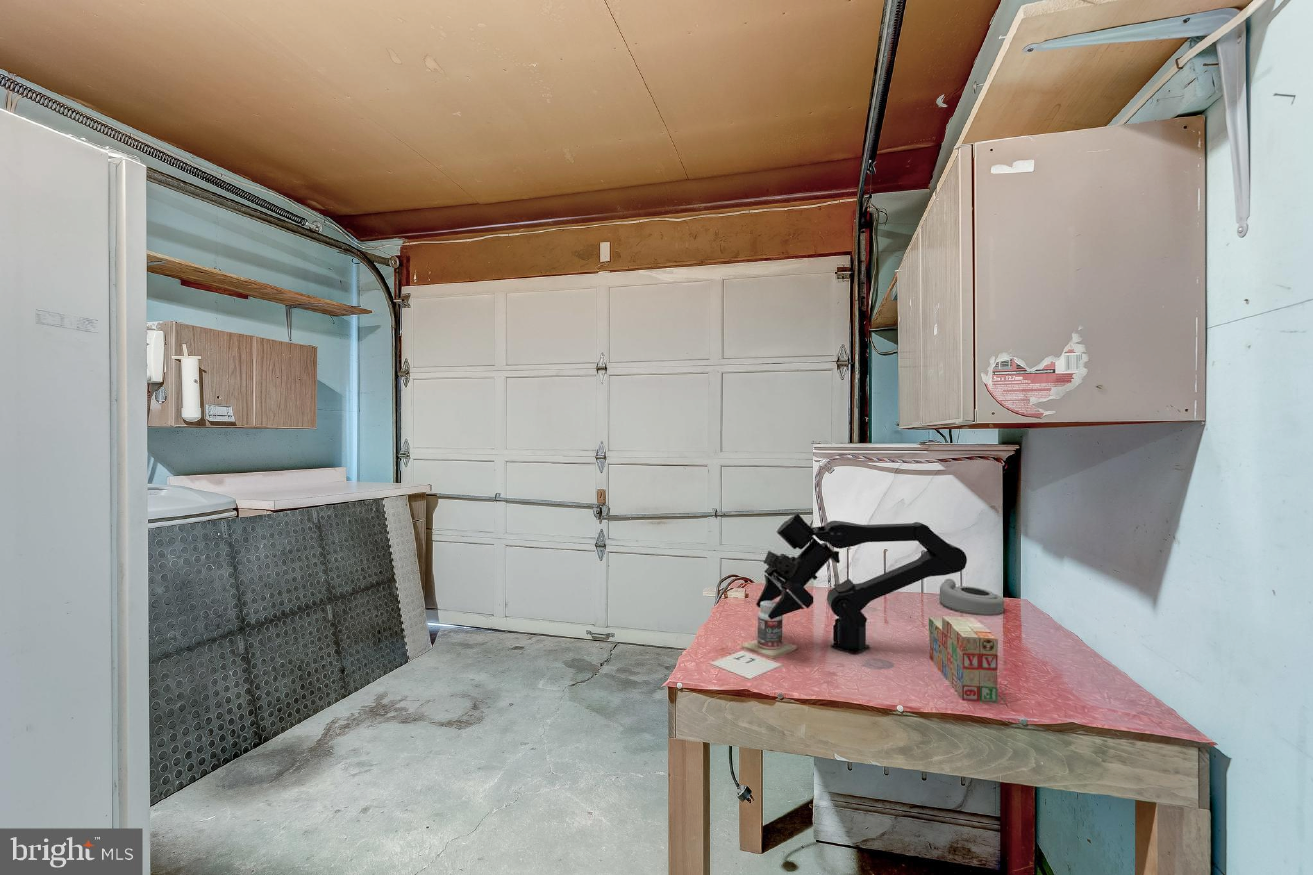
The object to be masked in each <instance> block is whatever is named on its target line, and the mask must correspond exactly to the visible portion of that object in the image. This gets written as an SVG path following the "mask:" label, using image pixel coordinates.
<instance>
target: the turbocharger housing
mask: <svg viewBox="0 0 1313 875" xmlns="http://www.w3.org/2000/svg"><path fill="white" fill-rule="evenodd" d="M938 596H939V599H938V601H939V603H940V604H941V605H942V606H944V607H945V606H946V608H947V609H949V608H950V610H952V611H955V610H956V612H958V611H960V612H959V613H962V612H964V613H963V614H967V613H970V614H969V615H974V614H976V615H975V616H996V615H997V614H998V615H1000V614H1002V613H1003V612H1004V609H1005V599H1004V597H1002V596H1001V595H999V594H997V593H994V592H993V591H989V589H988V590H987V589H985V588H980V587H975V586H968V585H966V586H965V585H963V586H962V585H958V586H957V584H956V582H955V580H953V579H952V578H946V579H944V582H942V583H941V584H940V586H939V594H938Z"/></svg>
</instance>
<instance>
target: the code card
mask: <svg viewBox="0 0 1313 875" xmlns="http://www.w3.org/2000/svg"><path fill="white" fill-rule="evenodd" d="M709 664H710V665H712V666H715V667H717V668H721V669H723V670H725V671H728V672H731V673H733V674H734V675H738V676H741V677H742V678H746V679H748V680H751V679H753V678H756V677H758V676H760V675H763V674H765V673H767V672H770V671H772V670H774V669H776V668H779V667H781V666H782V665H783V664H782V663H778V662H777V661H773V660H770V659H767V658H764V657H762V656H759V655H756V654H754V653H751V652H747V651H744V650H741V651H739V652H736V653H733V654H731V655H728V656H725V657H722V658H720V659H717V660H715V661H712V662H710V663H709Z"/></svg>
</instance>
